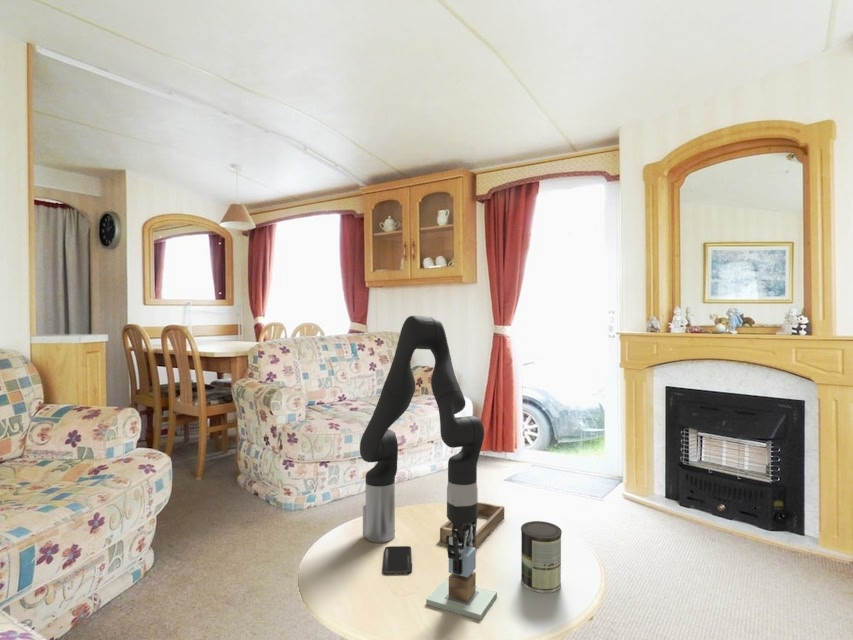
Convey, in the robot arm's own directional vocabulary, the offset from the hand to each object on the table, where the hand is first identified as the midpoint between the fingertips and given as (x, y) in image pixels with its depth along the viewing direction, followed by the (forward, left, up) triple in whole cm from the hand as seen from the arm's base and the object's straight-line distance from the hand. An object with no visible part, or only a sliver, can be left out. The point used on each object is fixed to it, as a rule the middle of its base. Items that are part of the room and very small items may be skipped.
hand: (462, 568), depth 123 cm
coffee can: (+15, +17, -8) cm, 24 cm away
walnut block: (0, 0, -7) cm, 7 cm away
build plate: (0, 0, -8) cm, 8 cm away
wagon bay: (-13, +40, -8) cm, 43 cm away
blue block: (0, 0, 0) cm, 0 cm away
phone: (-24, +10, -8) cm, 27 cm away
